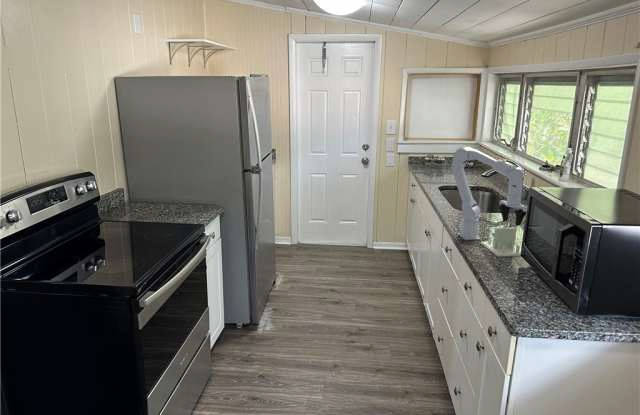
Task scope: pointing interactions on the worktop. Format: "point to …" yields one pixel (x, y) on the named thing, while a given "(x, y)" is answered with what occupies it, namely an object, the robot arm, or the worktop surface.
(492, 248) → the rack
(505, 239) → the pale green tall block
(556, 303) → the worktop surface
